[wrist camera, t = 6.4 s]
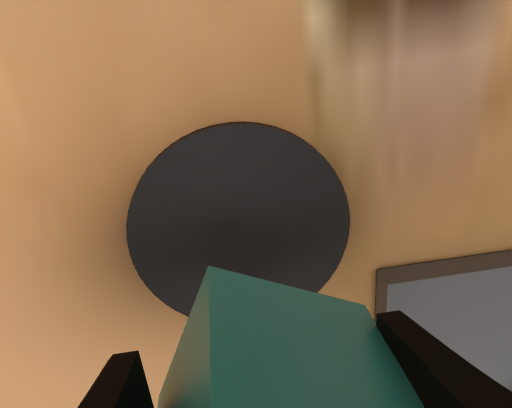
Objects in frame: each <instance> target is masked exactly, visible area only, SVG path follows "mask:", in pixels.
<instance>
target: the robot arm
mask: <svg viewBox="0 0 512 408" xmlns="http://www.w3.org/2000/svg"><path fill="white" fill-rule="evenodd" d="M376 326H377V328H378V329H379V331H380V333H381V335H382V336H383V338H384V340H385V341H386V343H387V345H388V347H389V348H390V350H391V352H392V353H393V355H394V357H395V358H396V359H397V361H398V363H399V364H400V366H401V368H402V369H403V371H404V373H405V375H406V376H407V378H408V380H409V381H410V383H411V385H412V387H413V388H414V390H415V392H416V393H417V395H418V397H419V399H420V400H421V402H422V404H423V405H424V407H425V408H512V391H510V390H509V389H507V388H506V387H504V386H502V385H501V384H499V383H498V382H496V381H495V380H493V379H492V378H491V377H489V376H488V375H486V374H485V373H483V372H482V371H480V370H479V369H478V368H476V367H475V366H473V365H472V364H471V363H469V362H468V361H466V360H465V359H464V358H462V357H461V356H460V355H458V354H457V353H456V352H454V351H453V350H451V349H450V348H449V347H447V346H446V345H445V344H443V343H442V342H441V341H440V340H438V339H437V338H436V337H434V336H433V335H432V334H430V333H429V332H428V331H426V330H425V329H424V328H423V327H421V326H420V325H419V324H417V323H416V322H415V321H414V320H412V319H411V318H410V317H408V316H407V315H406V314H404V313H403V312H402V311H400V310H397V311H390V312H384V313H377V314H376ZM78 408H154V406H153V403H152V399H151V395H150V392H149V388H148V384H147V381H146V377H145V373H144V370H143V366H142V362H141V359H140V355H139V351H132V352H125V353H119V354H113V355H112V356H111V357H110V359H109V360H108V362H107V363H106V365H105V366H104V368H103V369H102V371H101V372H100V374H99V376H98V377H97V379H96V380H95V382H94V383H93V385H92V386H91V388H90V390H89V391H88V393H87V394H86V396H85V397H84V399H83V400H82V402H81V403H80V405H79V406H78Z"/></svg>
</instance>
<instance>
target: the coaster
mask: <svg viewBox="0 0 512 408" xmlns="http://www.w3.org/2000/svg"><path fill="white" fill-rule="evenodd" d="M349 225H350V217H349V206H348V202H347V197H346V194H345V191H344V189H343V186H342V183H341V182H340V180H339V178H338V176H337V174H336V173H335V171H334V170H333V168H332V167H331V166H330V164H329V163H328V162H327V161H326V160H325V158H324V157H323V156H322V155H321V154H320V153H319V152H318V151H317V150H315V149H314V148H313V147H312V146H311V145H310V144H308V143H307V142H305V141H304V140H303V139H301V138H300V137H298V136H296V135H294V134H292V133H290V132H288V131H286V130H283V129H280V128H277V127H275V126H270V125H266V124H261V123H253V122H228V123H222V124H217V125H212V126H209V127H205V128H202V129H199V130H196V131H194V132H192V133H190V134H188V135H186V136H184V137H182V138H180V139H179V140H177V141H176V142H174V143H173V144H171V145H170V146H169V147H167V148H166V149H165V150H164V151H163V152H162V153H160V154H159V155H158V156H157V157H156V159H155V160H154V161H153V162H152V163H151V164H150V165H149V167H148V168H147V170H146V171H145V173H144V174H143V176H142V177H141V179H140V181H139V183H138V185H137V188H136V190H135V192H134V194H133V197H132V200H131V203H130V207H129V210H128V217H127V224H126V226H127V243H128V248H129V253H130V256H131V259H132V262H133V264H134V266H135V268H136V270H137V272H138V274H139V276H140V278H141V279H142V280H143V282H144V283H145V285H146V286H147V287H148V288H149V289H150V290H151V291H152V293H153V294H154V295H155V296H156V297H158V298H159V299H160V300H161V301H162V302H164V303H165V304H166V305H168V306H169V307H171V308H173V309H174V310H176V311H178V312H180V313H182V314H184V315H186V316H188V317H189V315H190V312H191V310H192V307H193V304H194V302H195V299H196V297H197V294H198V291H199V289H200V286H201V283H202V281H203V278H204V275H205V273H206V270H207V267H208V266H212V267H216V268H220V269H224V270H228V271H232V272H236V273H240V274H244V275H248V276H252V277H256V278H260V279H264V280H268V281H271V282H275V283H279V284H283V285H287V286H291V287H295V288H299V289H303V290H307V291H311V292H315V293H317V292H318V291H319V290H320V289H321V288H322V287H323V286H324V285H325V284H326V282H327V281H328V280H329V279H330V277H331V276H332V274H333V273H334V272H335V270H336V268H337V266H338V265H339V263H340V261H341V259H342V256H343V254H344V251H345V248H346V245H347V240H348V235H349Z"/></svg>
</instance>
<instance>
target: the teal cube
mask: <svg viewBox="0 0 512 408" xmlns="http://www.w3.org/2000/svg"><path fill="white" fill-rule="evenodd" d="M158 408H425V407H424V405H423V404H422V402H421V400H420V399H419V397H418V395H417V393H416V392H415V390H414V388H413V387H412V385H411V383H410V381H409V380H408V378H407V376H406V375H405V373H404V371H403V369H402V368H401V366H400V364H399V363H398V361H397V359H396V358H395V357H394V355H393V353H392V352H391V350H390V348H389V347H388V345H387V343H386V341H385V340H384V338H383V336H382V335H381V333H380V331H379V329H378V328H377V326H376V323H375V322H374V320H373V318H372V316H371V315H370V313H369V311H368V310H367V308H366V306H365V305H362V304H358V303H354V302H351V301H347V300H343V299H339V298H335V297H331V296H327V295H323V294H319V293H315V292H311V291H307V290H303V289H299V288H295V287H291V286H287V285H283V284H279V283H275V282H271V281H268V280H264V279H260V278H256V277H252V276H248V275H244V274H240V273H236V272H232V271H228V270H224V269H220V268H216V267H212V266H208V267H207V270H206V273H205V275H204V278H203V281H202V283H201V286H200V289H199V291H198V294H197V297H196V299H195V302H194V304H193V307H192V310H191V312H190V315H189V318H188V320H187V323H186V326H185V328H184V331H183V334H182V336H181V339H180V342H179V344H178V347H177V349H176V352H175V355H174V357H173V360H172V363H171V365H170V368H169V371H168V373H167V376H166V379H165V381H164V384H163V387H162V389H161V392H160V395H159V401H158Z"/></svg>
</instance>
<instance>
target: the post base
mask: <svg viewBox="0 0 512 408" xmlns="http://www.w3.org/2000/svg"><path fill="white" fill-rule="evenodd" d="M397 310H400V311H402V312H403V313H404V314H406V315H407V316H408V317H410V318H411V319H412V320H414V321H415V322H416V323H417V324H419V325H420V326H421V327H423V328H424V329H425V330H426V331H428V332H429V333H430V334H432V335H433V336H434V337H436V338H437V339H438V340H440V341H441V342H442V343H443V344H445V345H446V346H447V347H449V348H450V349H451V350H453V351H454V352H456V353H457V354H458V355H460V356H461V357H462V358H464V359H465V360H466V361H468V362H469V363H471V364H472V365H473V366H475V367H476V368H478V369H479V370H480V371H482V372H483V373H485V374H486V375H488V376H489V377H491V378H492V379H493V380H495V381H496V382H498V383H499V384H501V385H502V386H504V387H506V388H507V389H509V390H510V391H512V250H508V251H501V252H495V253H488V254H481V255H474V256H467V257H460V258H453V259H446V260H440V261H433V262H426V263H419V264H412V265H405V266H398V267H391V268H384V269H378V270H377V280H376V305H375V323H376V314H377V313H384V312H390V311H397Z"/></svg>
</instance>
